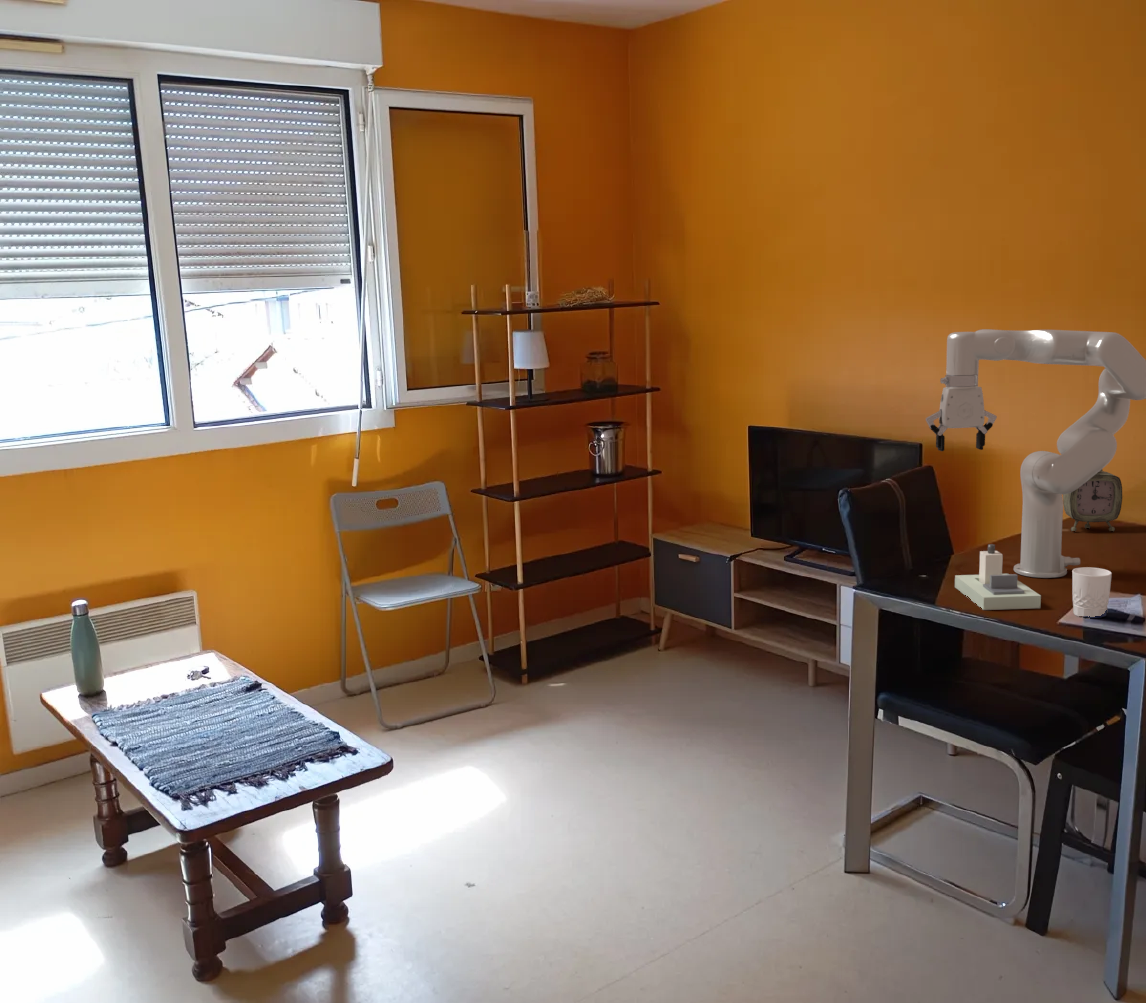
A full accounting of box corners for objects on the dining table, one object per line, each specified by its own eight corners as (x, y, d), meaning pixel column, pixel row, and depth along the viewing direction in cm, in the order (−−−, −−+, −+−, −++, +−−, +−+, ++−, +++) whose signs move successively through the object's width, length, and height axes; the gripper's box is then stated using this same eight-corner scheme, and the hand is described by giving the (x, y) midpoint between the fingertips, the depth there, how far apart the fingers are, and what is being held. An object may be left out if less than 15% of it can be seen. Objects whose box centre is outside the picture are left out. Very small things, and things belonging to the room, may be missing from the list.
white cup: (1063, 610, 238) (1065, 568, 236) (1096, 608, 238) (1098, 566, 236) (1082, 621, 230) (1084, 577, 228) (1116, 618, 230) (1119, 574, 229)
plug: (995, 590, 256) (996, 542, 254) (1001, 594, 252) (1002, 546, 250) (978, 590, 256) (980, 543, 254) (984, 595, 252) (986, 547, 250)
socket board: (1007, 585, 260) (1007, 573, 259) (1040, 608, 240) (1040, 595, 240) (954, 587, 260) (955, 575, 260) (983, 610, 241) (983, 597, 240)
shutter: (1012, 585, 249) (1013, 570, 248) (1024, 593, 242) (1024, 578, 241) (982, 586, 249) (983, 571, 248) (993, 594, 242) (994, 579, 241)
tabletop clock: (1068, 533, 311) (1072, 450, 306) (1059, 527, 320) (1063, 446, 315) (1120, 533, 308) (1125, 449, 304) (1110, 526, 317) (1114, 445, 313)
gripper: (931, 384, 256) (930, 453, 259) (1002, 381, 256) (1000, 450, 259) (922, 382, 264) (921, 449, 267) (991, 379, 263) (989, 446, 266)
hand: (960, 449), depth 263 cm, fingers open, 9 cm apart
